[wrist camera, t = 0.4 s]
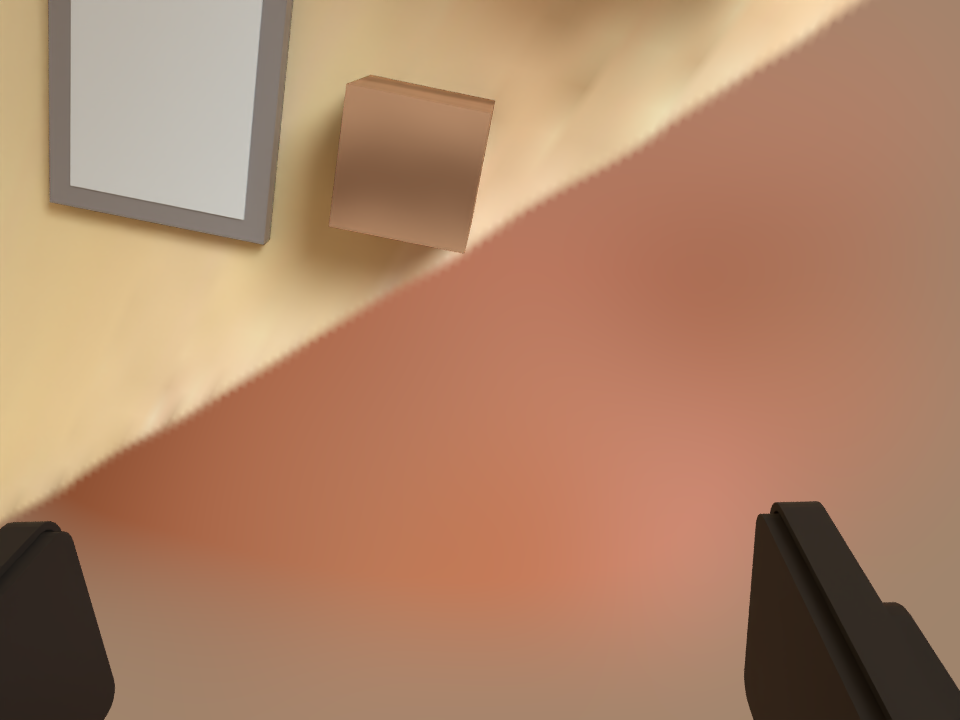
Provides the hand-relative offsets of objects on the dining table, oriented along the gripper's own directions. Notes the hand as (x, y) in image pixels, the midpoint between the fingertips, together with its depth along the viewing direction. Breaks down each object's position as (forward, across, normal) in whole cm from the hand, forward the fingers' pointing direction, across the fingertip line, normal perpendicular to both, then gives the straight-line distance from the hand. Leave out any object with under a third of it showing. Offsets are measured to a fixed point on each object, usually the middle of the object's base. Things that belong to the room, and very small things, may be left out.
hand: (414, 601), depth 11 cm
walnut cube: (+29, +3, -2) cm, 30 cm away
